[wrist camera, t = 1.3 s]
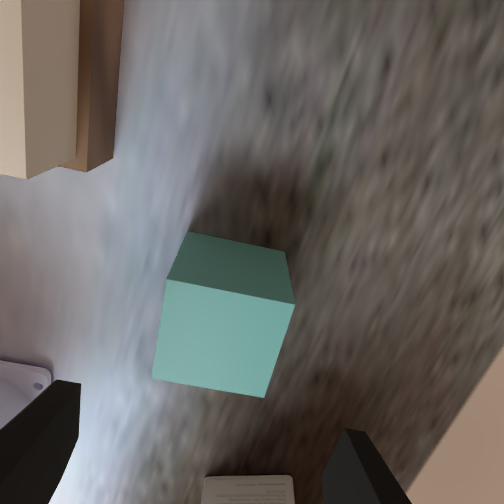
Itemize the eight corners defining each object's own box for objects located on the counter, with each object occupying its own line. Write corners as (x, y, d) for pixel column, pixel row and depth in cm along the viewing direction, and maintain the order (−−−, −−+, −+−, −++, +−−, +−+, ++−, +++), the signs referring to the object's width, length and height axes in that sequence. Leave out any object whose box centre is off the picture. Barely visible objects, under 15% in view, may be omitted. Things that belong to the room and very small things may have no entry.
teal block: (261, 328, 19) (264, 397, 14) (173, 312, 18) (151, 378, 14) (284, 250, 17) (295, 304, 13) (187, 230, 16) (166, 279, 12)
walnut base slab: (115, 156, 15) (86, 172, 12) (-49, 119, 15) (-118, 127, 12) (129, -31, 13) (96, -62, 10) (-71, -86, 12) (-165, -137, 9)
